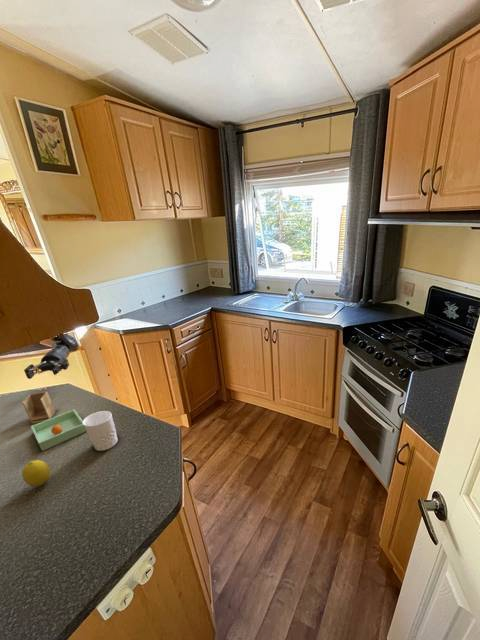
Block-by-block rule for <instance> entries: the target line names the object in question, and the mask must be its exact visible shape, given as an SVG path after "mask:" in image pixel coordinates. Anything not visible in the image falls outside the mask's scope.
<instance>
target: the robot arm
mask: <svg viewBox="0 0 480 640" xmlns="http://www.w3.org/2000/svg"><path fill="white" fill-rule="evenodd" d="M48 340H49V341H51V342H53V343H52V344H51V349H50V350H49V351H47V352H46V353H45V355H43V356H42V358H41V359H40V363H38V364H35V365H34V364H33V363H32V364H29V365H27V366H26V367H25V368H24V370H23V371H24V373H25V376H26V378H27V379H28V380H31V379H33V377H35V375H40V374H43V373H44V372H48V371H49V372H52V373H53V376H55V375H56V376H57V375H58V374H59V373H60V372H62V370H64V371H66V370H68V368H69V367H70V362H69V359H68V358H69V356H70V354H72V353H74V352H77V351H78V350H79V347H80V346H79V345H80V344H79V341H77V339H75V338H74V337H73V336H71V335H70V334H69V333H67V332H66V334H63V335H59V336H57V337H55V338H52V339H48Z"/></svg>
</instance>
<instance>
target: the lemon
mask: <svg viewBox="0 0 480 640" xmlns="http://www.w3.org/2000/svg"><path fill="white" fill-rule="evenodd" d="M50 469H51V468H50V467H49V465H48V464H47V463H46V462H45V461H43V460H38V459H36V460H35V459H34V460H30V461H29V462H28V463H26V465H25V466H24V467H23V469H22V472H21V473H22V479H23V481H24V482H25V483H26V484H27V485H28V486H31V487H39V486H43V485H44V484H45V483H46V482H47V481H48V480H49V478H50V476H51V470H50Z"/></svg>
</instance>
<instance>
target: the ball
mask: <svg viewBox="0 0 480 640" xmlns="http://www.w3.org/2000/svg"><path fill="white" fill-rule="evenodd" d="M51 432H52V433H53V434H56V435H57V434H60V433H61V432H62V427H61V426H59V425H57V426H54V427H53V428H52V430H51Z"/></svg>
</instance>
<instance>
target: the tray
mask: <svg viewBox="0 0 480 640" xmlns="http://www.w3.org/2000/svg"><path fill="white" fill-rule="evenodd" d="M83 420H84V419H82V418H81V416H80V415H79V413H78V412H77V411H76V409H72V410H69V411H67V412H64V413H62V414H59V415H56V416H53V417H52V418H51V419H48V420H46V421H43V422H38V423H35V424H32V425H30V428H31V430H32V433H33V435H34V437H35V439H36V441H37V443H38V446H39V448H40V450H41V451H43V452H44V451H45V450H48V449H49V448H53V447H54V446H56V445H59V444H61V443H63V442H65V441H68V440H70V439H72V438H75V437H76V436H79V435H82V434H83V433H87V432H86V430H85V427H84V425H83ZM57 425H59V426H61V427H62V432H61V433H60V434H57V435H56V434H53V433H52V432H51V430H52V428H53V427H54V426H57Z"/></svg>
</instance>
